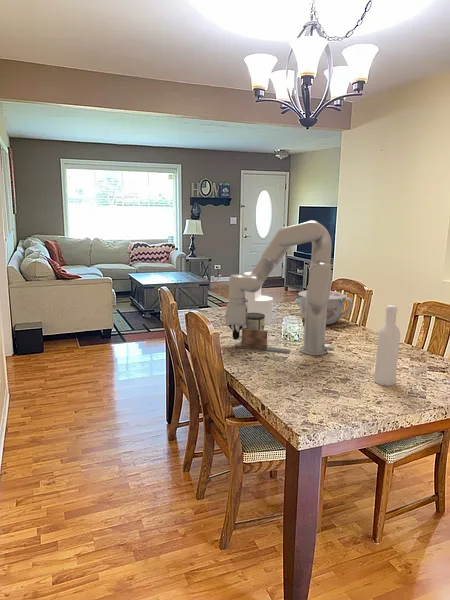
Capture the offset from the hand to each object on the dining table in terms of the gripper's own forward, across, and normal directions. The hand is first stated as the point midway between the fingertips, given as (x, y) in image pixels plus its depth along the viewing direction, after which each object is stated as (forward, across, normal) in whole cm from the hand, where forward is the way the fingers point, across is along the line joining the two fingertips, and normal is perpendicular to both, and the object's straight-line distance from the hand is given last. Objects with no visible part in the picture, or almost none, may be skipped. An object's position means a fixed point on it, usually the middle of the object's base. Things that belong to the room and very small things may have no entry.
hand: (235, 338), depth 213 cm
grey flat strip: (+4, -13, 0) cm, 14 cm away
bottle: (+4, -67, +22) cm, 71 cm away
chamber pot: (+4, -32, -63) cm, 71 cm away
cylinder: (+4, +3, -51) cm, 51 cm away
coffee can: (+4, -6, -8) cm, 11 cm away
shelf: (+4, -9, 0) cm, 10 cm away
